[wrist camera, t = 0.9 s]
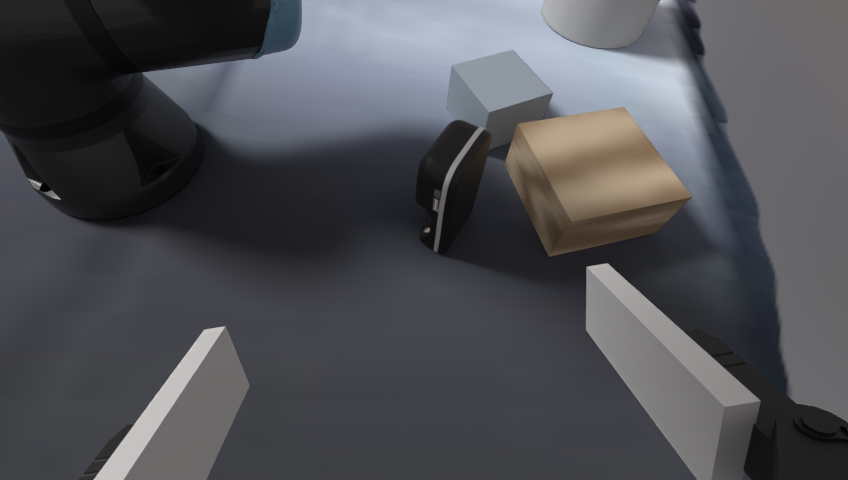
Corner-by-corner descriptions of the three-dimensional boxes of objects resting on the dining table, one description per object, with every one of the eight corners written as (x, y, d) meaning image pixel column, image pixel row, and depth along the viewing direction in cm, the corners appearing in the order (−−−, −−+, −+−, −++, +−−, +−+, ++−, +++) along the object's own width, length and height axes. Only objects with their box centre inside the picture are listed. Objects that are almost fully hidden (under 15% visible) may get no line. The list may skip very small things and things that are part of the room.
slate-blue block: (446, 109, 50) (451, 65, 45) (501, 92, 52) (512, 49, 47) (478, 154, 46) (488, 112, 41) (536, 134, 48) (553, 92, 43)
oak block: (504, 164, 45) (517, 123, 40) (599, 148, 47) (624, 107, 42) (548, 256, 39) (571, 222, 34) (655, 233, 41) (691, 197, 36)
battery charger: (441, 192, 43) (454, 104, 33) (474, 208, 42) (497, 122, 32) (407, 240, 39) (411, 159, 30) (442, 258, 38) (457, 180, 29)
